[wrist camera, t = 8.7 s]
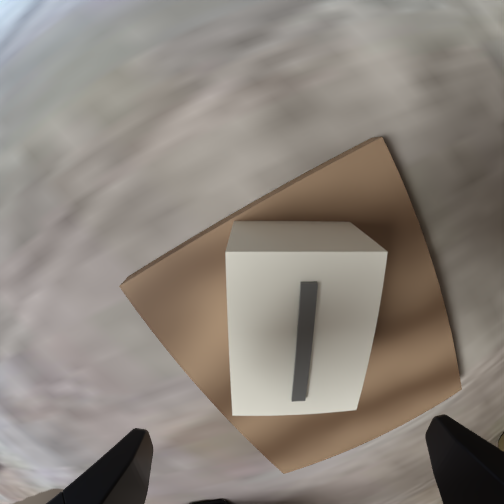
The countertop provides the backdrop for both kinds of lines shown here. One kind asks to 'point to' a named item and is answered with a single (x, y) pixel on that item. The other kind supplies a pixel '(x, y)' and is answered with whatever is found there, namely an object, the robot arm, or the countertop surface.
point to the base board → (388, 322)
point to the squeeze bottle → (501, 443)
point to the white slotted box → (300, 315)
